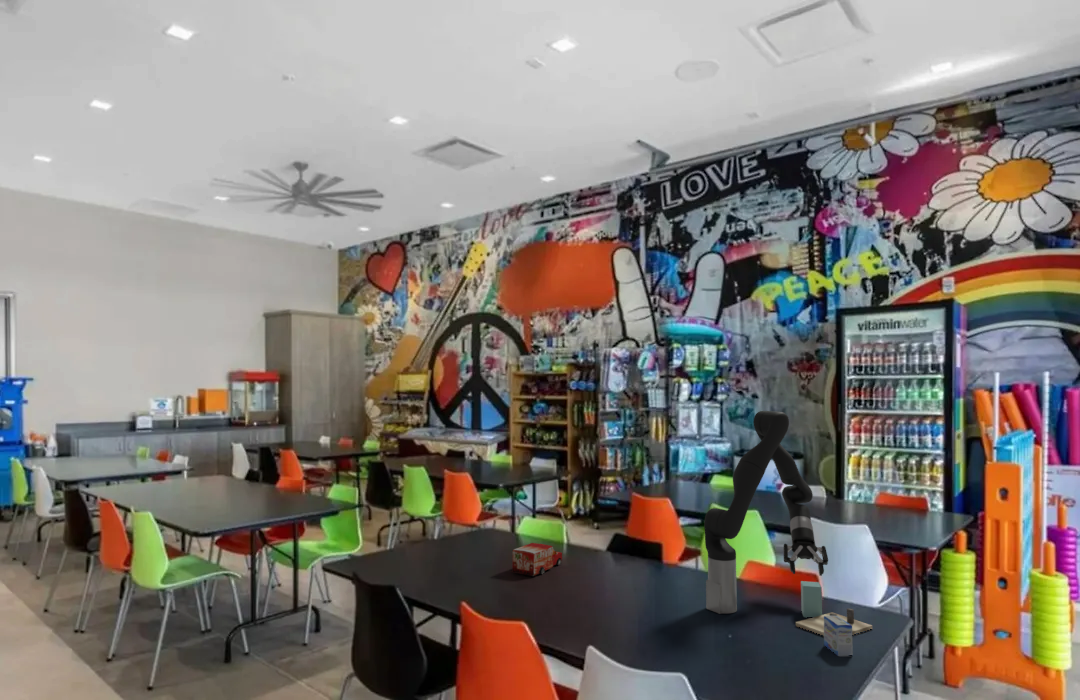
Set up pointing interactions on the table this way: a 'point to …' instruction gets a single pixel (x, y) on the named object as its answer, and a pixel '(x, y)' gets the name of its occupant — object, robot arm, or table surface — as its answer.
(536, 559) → the ambulance
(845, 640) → the medicine box
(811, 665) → the table surface
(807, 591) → the grey-green tall block
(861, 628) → the pin board
